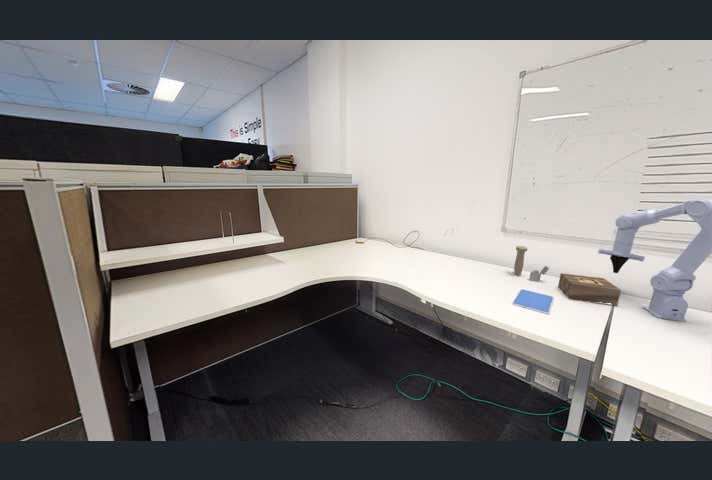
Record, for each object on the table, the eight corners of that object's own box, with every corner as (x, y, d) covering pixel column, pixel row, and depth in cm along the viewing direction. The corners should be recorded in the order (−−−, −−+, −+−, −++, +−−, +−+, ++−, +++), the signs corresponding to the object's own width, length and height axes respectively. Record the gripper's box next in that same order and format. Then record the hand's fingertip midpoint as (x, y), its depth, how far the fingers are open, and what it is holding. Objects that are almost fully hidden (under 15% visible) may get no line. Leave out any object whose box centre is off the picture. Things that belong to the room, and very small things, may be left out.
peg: (593, 296, 113) (596, 283, 112) (581, 294, 114) (584, 282, 113) (589, 292, 117) (592, 280, 115) (578, 291, 118) (580, 278, 117)
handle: (520, 273, 142) (525, 246, 139) (523, 277, 136) (528, 249, 133) (510, 272, 144) (515, 245, 140) (513, 276, 138) (517, 248, 134)
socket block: (616, 305, 107) (621, 290, 105) (569, 298, 112) (572, 283, 111) (600, 292, 119) (603, 278, 118) (557, 286, 125) (560, 273, 123)
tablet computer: (548, 316, 98) (549, 313, 98) (510, 305, 106) (511, 302, 106) (554, 299, 112) (554, 296, 112) (520, 291, 120) (520, 288, 120)
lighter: (530, 280, 132) (533, 265, 130) (529, 279, 134) (531, 264, 132) (546, 282, 130) (549, 267, 128) (545, 281, 132) (548, 266, 130)
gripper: (598, 240, 119) (592, 269, 122) (644, 247, 107) (636, 279, 110) (604, 239, 123) (597, 266, 126) (649, 245, 111) (640, 276, 114)
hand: (615, 272), depth 118 cm, fingers closed
